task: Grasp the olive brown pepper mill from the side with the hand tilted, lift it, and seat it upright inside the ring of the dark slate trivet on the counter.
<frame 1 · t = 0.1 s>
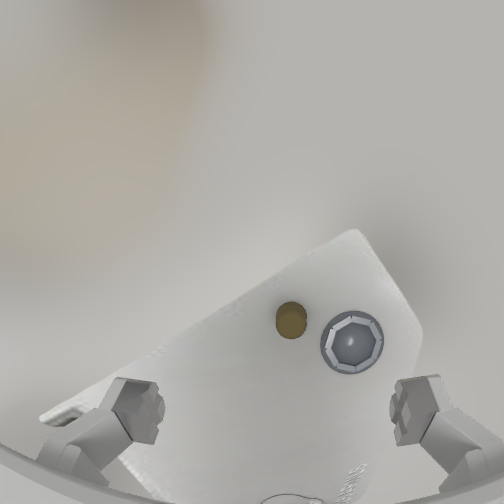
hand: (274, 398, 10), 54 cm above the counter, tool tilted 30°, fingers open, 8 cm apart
slate trivet: (352, 343, 61), on the counter
olive brown pepper mill: (291, 316, 64), on the counter
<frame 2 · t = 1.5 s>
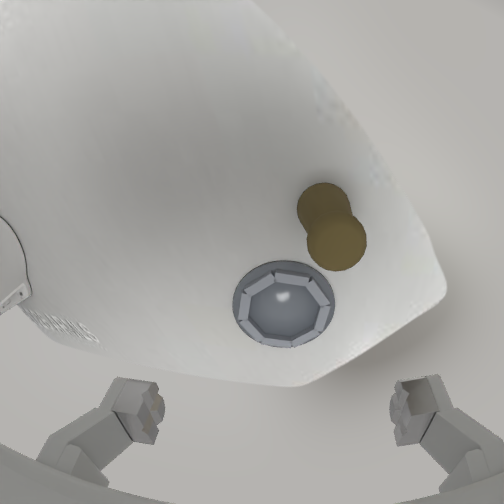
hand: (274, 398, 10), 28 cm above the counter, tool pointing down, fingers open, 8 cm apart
slate trivet: (283, 306, 41), on the counter
olive brown pepper mill: (323, 208, 36), on the counter
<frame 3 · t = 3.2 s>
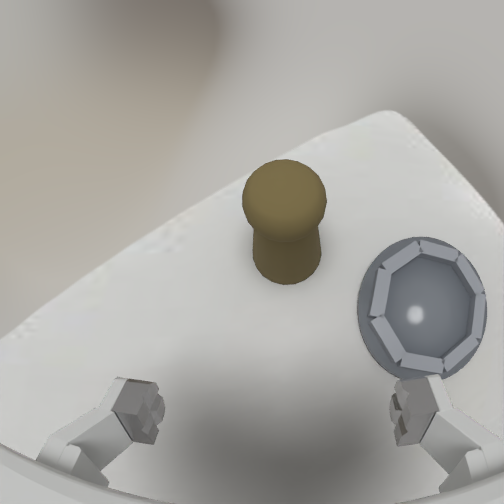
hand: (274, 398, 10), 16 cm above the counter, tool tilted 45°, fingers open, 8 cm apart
slate trivet: (426, 308, 25), on the counter
olive brown pepper mill: (286, 252, 29), on the counter
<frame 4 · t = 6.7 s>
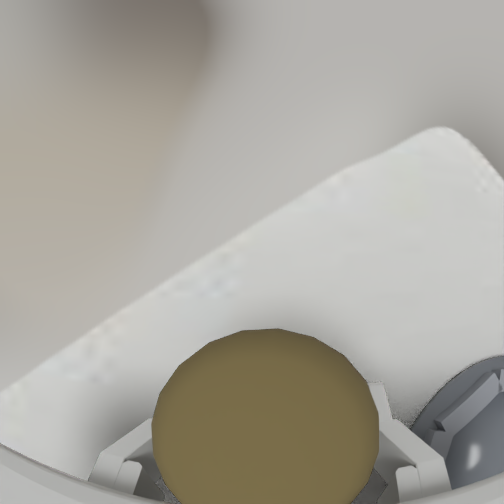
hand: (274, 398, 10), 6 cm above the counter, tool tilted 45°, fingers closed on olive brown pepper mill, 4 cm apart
slate trivet: (488, 461, 12), on the counter
olive brown pepper mill: (281, 399, 15), on the counter, touching gripper
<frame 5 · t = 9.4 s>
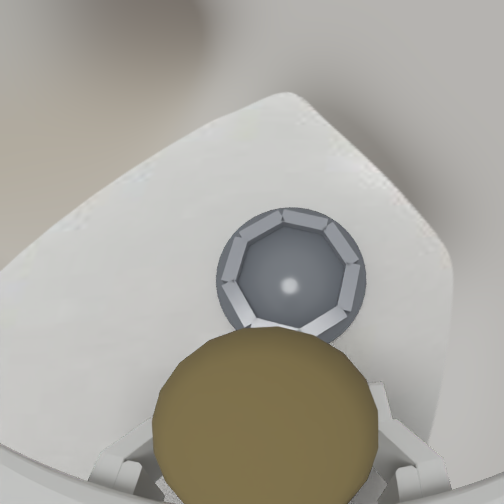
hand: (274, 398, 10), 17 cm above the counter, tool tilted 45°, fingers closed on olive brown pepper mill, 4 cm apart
slate trivet: (291, 277, 28), on the counter
olive brown pepper mill: (281, 397, 15), point 10 cm above the counter, touching gripper
when the fingers open (8 cm above the counter, at t = 12.5 s): olive brown pepper mill drops 1 cm, resting on slate trivet.
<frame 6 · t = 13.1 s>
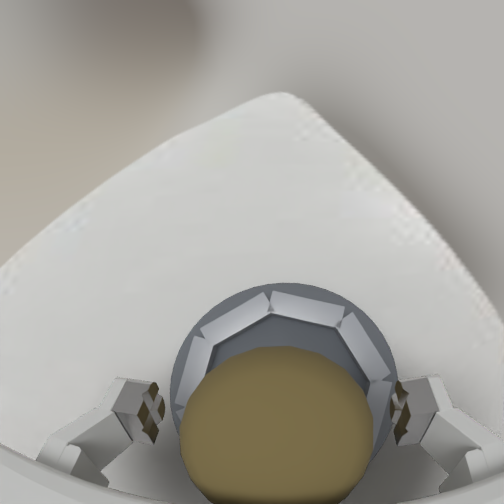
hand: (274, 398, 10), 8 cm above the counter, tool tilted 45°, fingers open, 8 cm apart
slate trivet: (283, 396, 17), on the counter
olive brown pepper mill: (285, 401, 17), resting on slate trivet
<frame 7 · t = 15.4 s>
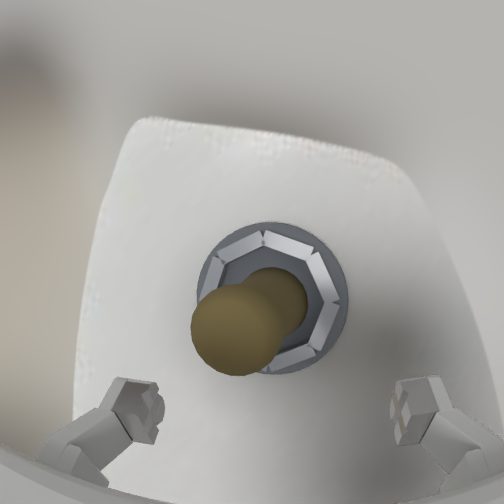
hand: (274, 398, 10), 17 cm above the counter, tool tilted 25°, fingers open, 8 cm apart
slate trivet: (270, 300, 27), on the counter
olive brown pepper mill: (272, 303, 27), resting on slate trivet
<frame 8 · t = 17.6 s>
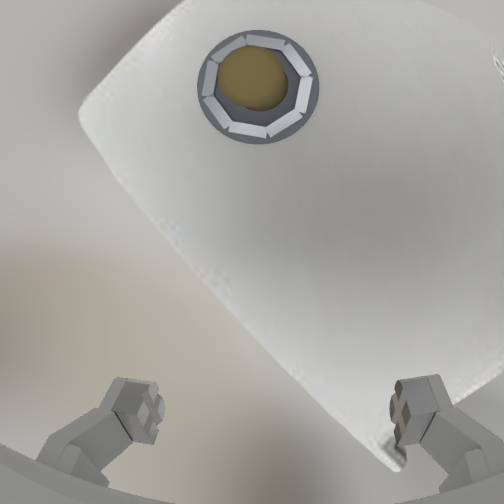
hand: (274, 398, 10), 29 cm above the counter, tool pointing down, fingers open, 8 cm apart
slate trivet: (257, 86, 32), on the counter
olive brown pepper mill: (259, 84, 31), resting on slate trivet
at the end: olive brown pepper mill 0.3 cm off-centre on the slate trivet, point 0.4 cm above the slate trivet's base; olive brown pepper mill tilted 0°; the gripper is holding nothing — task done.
